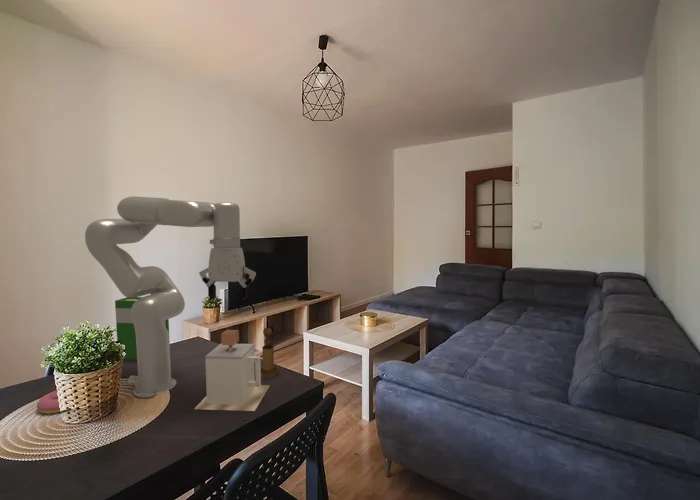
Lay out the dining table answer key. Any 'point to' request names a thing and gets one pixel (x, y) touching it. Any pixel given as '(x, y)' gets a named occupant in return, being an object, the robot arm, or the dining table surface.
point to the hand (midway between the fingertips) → (228, 299)
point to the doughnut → (49, 403)
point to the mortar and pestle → (268, 356)
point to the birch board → (247, 406)
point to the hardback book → (128, 326)
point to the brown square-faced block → (230, 338)
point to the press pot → (231, 374)
